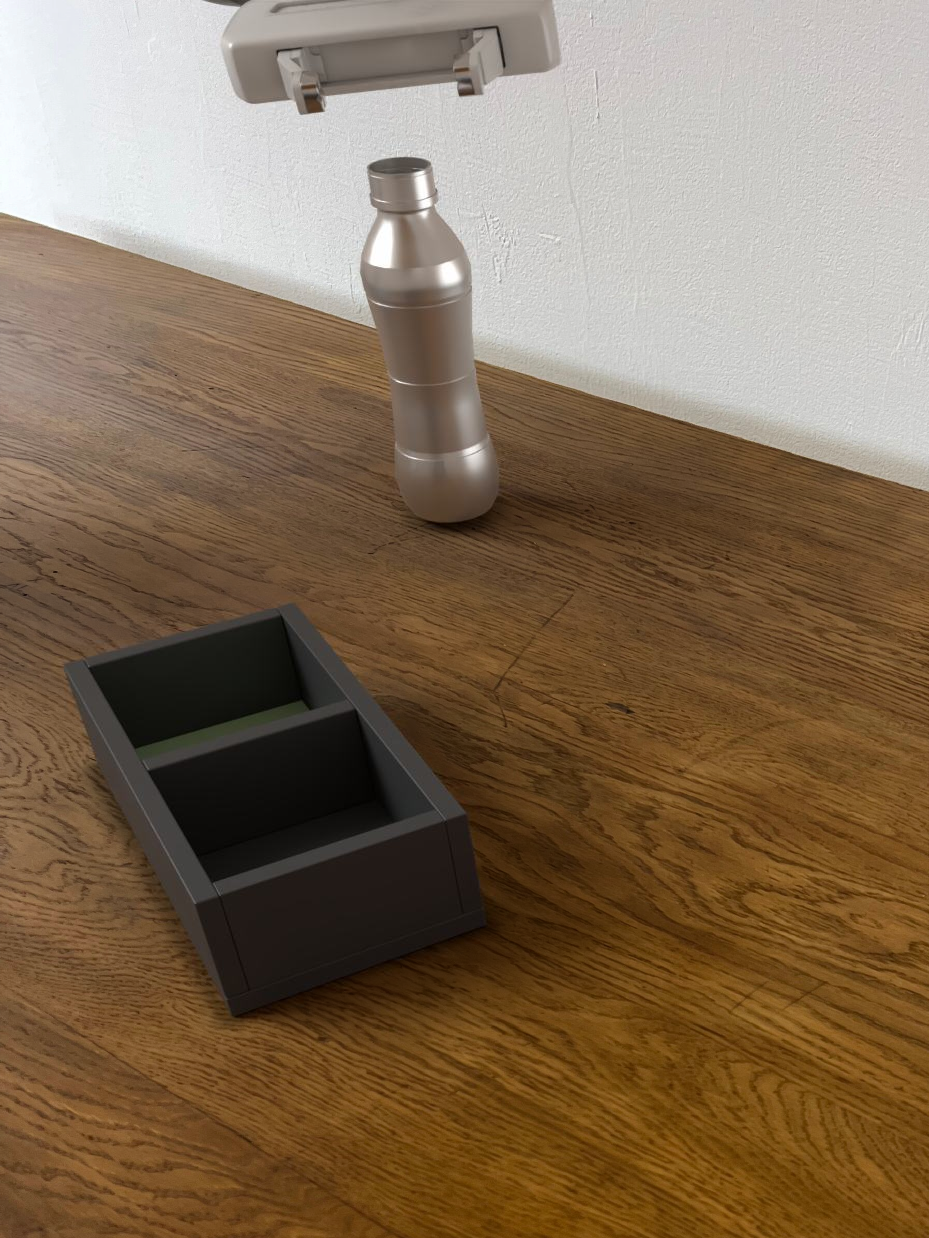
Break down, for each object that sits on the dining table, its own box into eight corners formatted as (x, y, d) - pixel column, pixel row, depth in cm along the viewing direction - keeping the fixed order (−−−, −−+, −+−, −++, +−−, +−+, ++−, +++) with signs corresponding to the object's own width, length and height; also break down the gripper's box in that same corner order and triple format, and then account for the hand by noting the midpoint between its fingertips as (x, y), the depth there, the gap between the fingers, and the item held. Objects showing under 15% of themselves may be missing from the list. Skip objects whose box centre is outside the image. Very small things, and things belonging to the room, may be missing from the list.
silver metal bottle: (490, 483, 104) (443, 144, 90) (516, 526, 99) (470, 174, 86) (393, 500, 102) (330, 156, 89) (414, 543, 98) (351, 188, 84)
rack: (232, 1017, 66) (194, 904, 62) (100, 770, 79) (61, 663, 75) (487, 925, 70) (467, 813, 66) (319, 705, 84) (294, 601, 80)
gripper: (219, -39, 98) (191, 51, 90) (547, -75, 98) (549, 12, 90) (253, 72, 103) (229, 167, 95) (564, 38, 103) (568, 129, 95)
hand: (388, 91), depth 92 cm, fingers open, 8 cm apart
